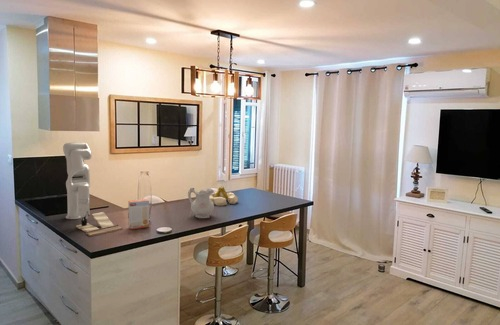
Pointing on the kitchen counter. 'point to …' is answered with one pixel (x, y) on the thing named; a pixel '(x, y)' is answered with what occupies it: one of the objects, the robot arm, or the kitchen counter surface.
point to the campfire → (223, 197)
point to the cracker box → (138, 214)
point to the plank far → (102, 220)
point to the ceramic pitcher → (201, 203)
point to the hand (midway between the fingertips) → (84, 225)
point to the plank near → (87, 227)
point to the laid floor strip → (103, 230)
